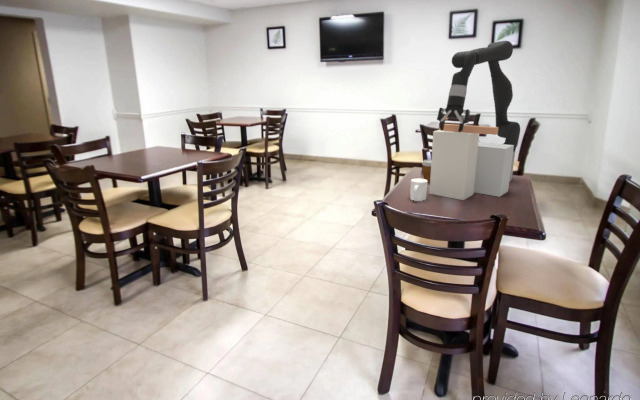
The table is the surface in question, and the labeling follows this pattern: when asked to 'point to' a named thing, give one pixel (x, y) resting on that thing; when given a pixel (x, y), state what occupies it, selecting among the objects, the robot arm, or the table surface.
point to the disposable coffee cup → (427, 170)
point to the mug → (418, 189)
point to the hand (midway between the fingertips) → (450, 131)
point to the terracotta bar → (471, 129)
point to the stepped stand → (468, 165)
